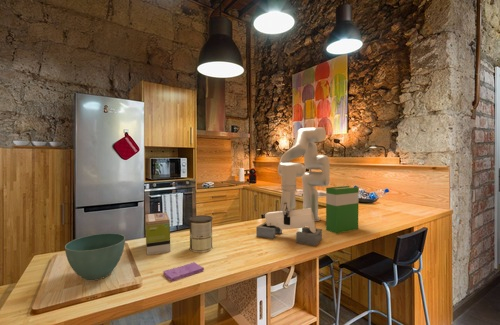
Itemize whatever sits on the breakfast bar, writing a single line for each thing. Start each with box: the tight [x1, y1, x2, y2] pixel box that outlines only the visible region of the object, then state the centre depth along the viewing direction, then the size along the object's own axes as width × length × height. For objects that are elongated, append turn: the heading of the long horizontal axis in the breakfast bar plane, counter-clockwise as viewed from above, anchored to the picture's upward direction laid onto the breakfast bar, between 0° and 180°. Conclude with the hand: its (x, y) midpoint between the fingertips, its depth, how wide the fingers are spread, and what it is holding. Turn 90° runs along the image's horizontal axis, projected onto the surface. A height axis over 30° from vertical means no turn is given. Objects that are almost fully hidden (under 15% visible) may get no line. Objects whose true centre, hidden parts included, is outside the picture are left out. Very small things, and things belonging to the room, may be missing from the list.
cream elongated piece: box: [264, 208, 316, 233], centre depth 132 cm, size 6×25×13 cm, turn 62°
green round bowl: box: [64, 232, 126, 281], centre depth 91 cm, size 18×18×12 cm
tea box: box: [144, 212, 171, 256], centre depth 117 cm, size 15×10×15 cm, turn 23°
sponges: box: [162, 261, 205, 282], centre depth 93 cm, size 7×13×2 cm, turn 131°
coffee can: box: [189, 214, 213, 254], centre depth 117 cm, size 10×10×14 cm
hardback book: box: [325, 185, 360, 235], centre depth 146 cm, size 18×7×24 cm, turn 119°
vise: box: [255, 221, 323, 247], centre depth 132 cm, size 12×31×5 cm, turn 62°
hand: (288, 222), depth 132 cm, fingers closed on cream elongated piece, 5 cm apart
